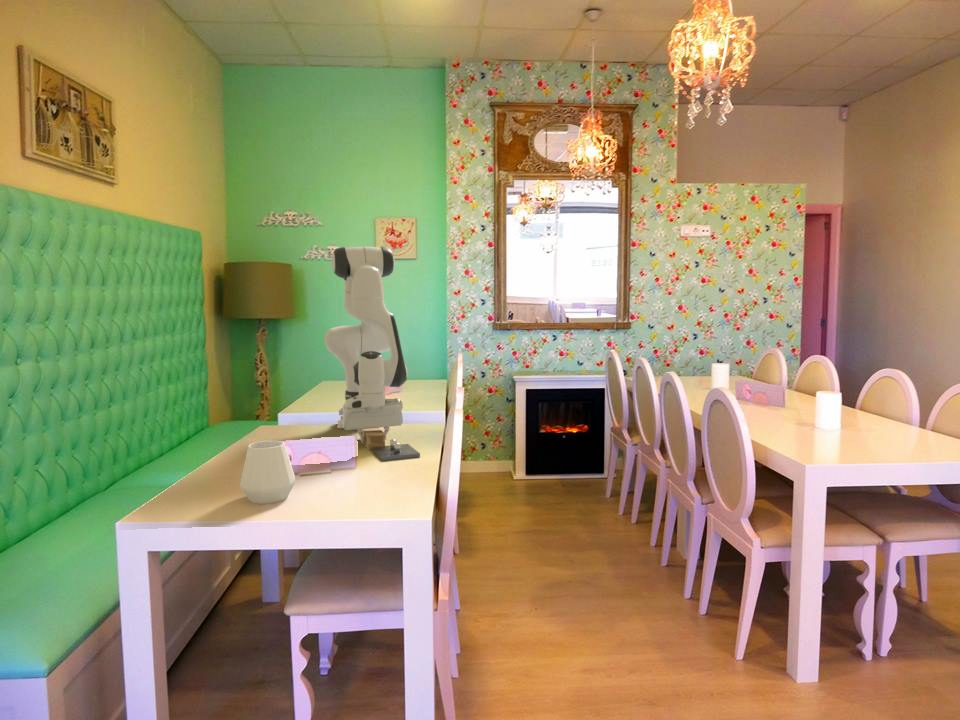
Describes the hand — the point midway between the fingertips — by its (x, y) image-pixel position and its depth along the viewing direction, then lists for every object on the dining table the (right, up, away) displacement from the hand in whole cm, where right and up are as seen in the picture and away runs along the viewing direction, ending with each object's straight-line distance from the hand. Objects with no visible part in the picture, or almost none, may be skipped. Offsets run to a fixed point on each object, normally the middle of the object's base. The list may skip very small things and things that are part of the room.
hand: (373, 440), depth 220 cm
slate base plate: (+9, -3, -11) cm, 15 cm away
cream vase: (-18, -8, -54) cm, 58 cm away
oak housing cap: (0, -2, 0) cm, 2 cm away
